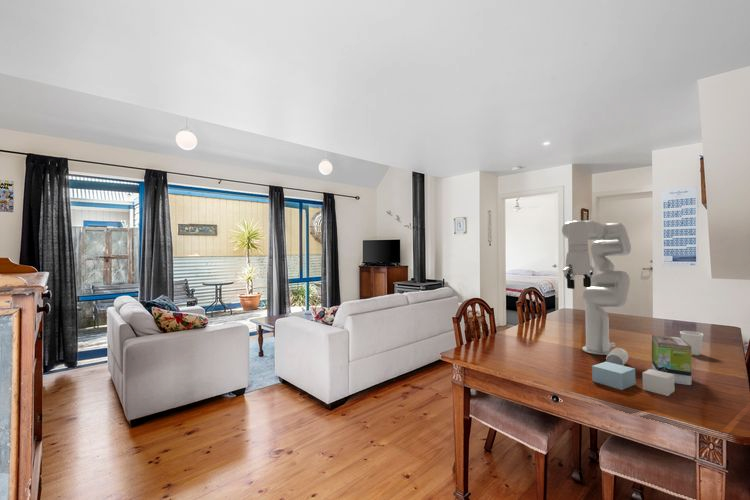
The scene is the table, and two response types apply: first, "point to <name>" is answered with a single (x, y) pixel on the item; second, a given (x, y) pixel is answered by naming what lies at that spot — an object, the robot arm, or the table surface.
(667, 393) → the grey block
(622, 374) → the pedestal block
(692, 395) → the table surface
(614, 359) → the can
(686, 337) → the dixie cup
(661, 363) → the tea box
